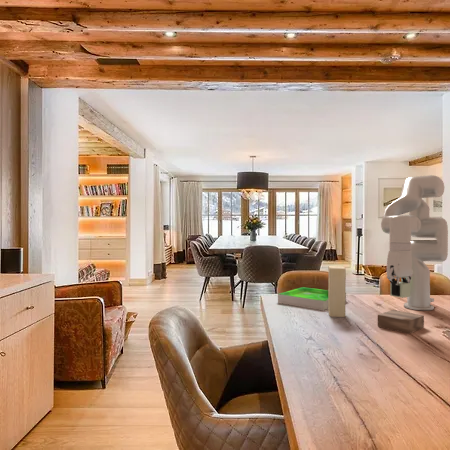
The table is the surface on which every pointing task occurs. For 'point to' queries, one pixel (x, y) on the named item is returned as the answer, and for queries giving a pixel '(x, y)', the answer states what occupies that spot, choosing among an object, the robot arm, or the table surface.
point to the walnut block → (401, 321)
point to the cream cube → (403, 290)
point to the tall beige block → (336, 291)
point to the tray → (306, 298)
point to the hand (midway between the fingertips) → (400, 294)
